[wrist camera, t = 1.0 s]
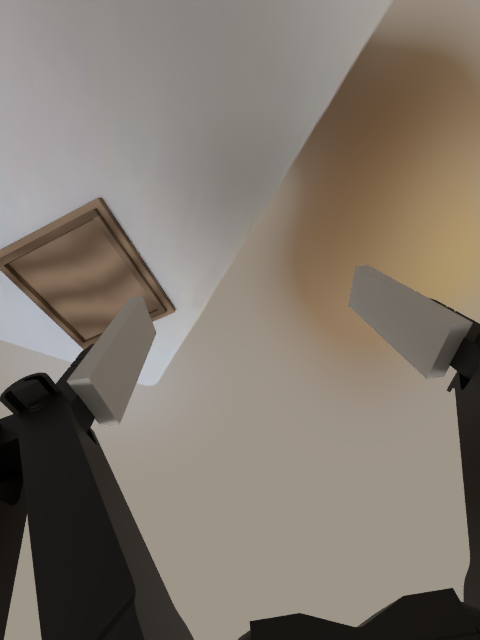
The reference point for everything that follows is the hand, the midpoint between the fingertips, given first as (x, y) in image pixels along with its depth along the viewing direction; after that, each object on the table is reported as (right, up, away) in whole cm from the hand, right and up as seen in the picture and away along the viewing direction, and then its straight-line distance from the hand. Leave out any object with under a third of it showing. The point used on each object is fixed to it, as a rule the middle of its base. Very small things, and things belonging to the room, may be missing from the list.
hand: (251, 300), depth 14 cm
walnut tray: (-27, +5, +26) cm, 38 cm away
